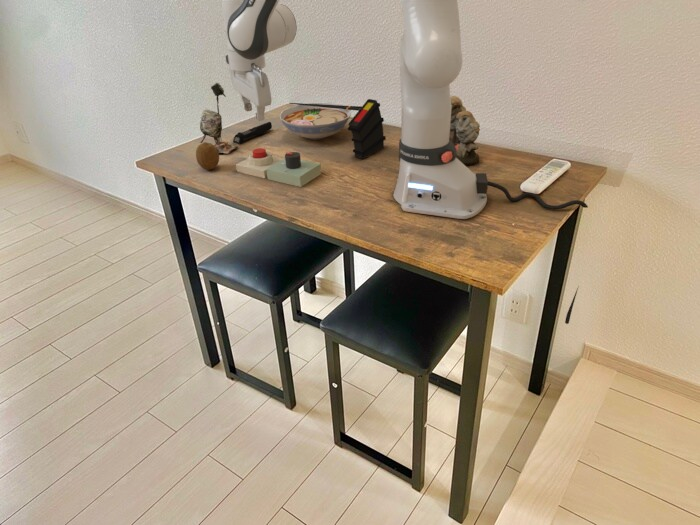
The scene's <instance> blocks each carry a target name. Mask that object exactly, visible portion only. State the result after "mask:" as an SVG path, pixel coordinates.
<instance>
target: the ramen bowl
mask: <svg viewBox="0 0 700 525" xmlns="http://www.w3.org/2000/svg"><path fill="white" fill-rule="evenodd" d="M289 105H292V106H290V107H287V108H285V109H283V110H282V111H281V112H280V113H279V114H278V115H279V119H280V121H281V123H282V124H283V126H284V127H285V128H286V129H287V130H288V131H289V132H291V133H293V134H294V135H296V136H297V137H301V138H306V139H308V140H312V141H313V140H314V141H317V140H324V139H326V138H328V137H331V136H334V135H335V134H337V133H339V132H340V131H342V130H343V128H344V127H345V126H346V125H347V122H348V121H349V120H350V118H351V115H352V113H353V111H357V112H358V111H359V110H360V109H361V107H362V106H363V105H361V106H357V105H343V104H340V103H333V102H308V103H304V102H303V103H301V102H289Z"/></svg>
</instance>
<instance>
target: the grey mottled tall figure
mask: <svg viewBox="0 0 700 525" xmlns="http://www.w3.org/2000/svg"><path fill="white" fill-rule="evenodd" d="M210 89H211V90H212V92H213V95H214V96H215V97H216V104H217V105H216V107H217V111H213V110H211V109H207V107H205V108H204V110H203V111H202V113H201V116H200V122H199V130H200V132H201V133H202V139H200V141H199V142H200V143H199V144H203V143H204V141H205V139H206V137H207V136H208V137H209V138H213V140H214V143H215V144H213V145H214V146H215V147H216V148H217V151H218V154H222V153H223V154H230V153H231V152H232V151H233V150H236V149H238V146H236V145H235V146H233V145H231V144H229V142H228V141H221V139H222V131H223V121H222V115H221V114H220V108H219V96H224V97H225V98H226V97H227V96H226V95H225V89H224V87H222V85H221V84H220V83H219V82H215V84H212V85H211V86H210Z"/></svg>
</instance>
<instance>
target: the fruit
mask: <svg viewBox="0 0 700 525" xmlns="http://www.w3.org/2000/svg"><path fill="white" fill-rule="evenodd" d="M214 145H215V144H213V143H211V142H207V141H203V142H202V143H199V145H197V147H196V150H195V158H196V161H197V164H198V165H199V166H200V167H201V168H202V169H203V170H207V171H212V170H214V169H215V168H216V167H217V166H218V165H219V162H220V153H218V151H217V148H216V147H215V146H214Z"/></svg>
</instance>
